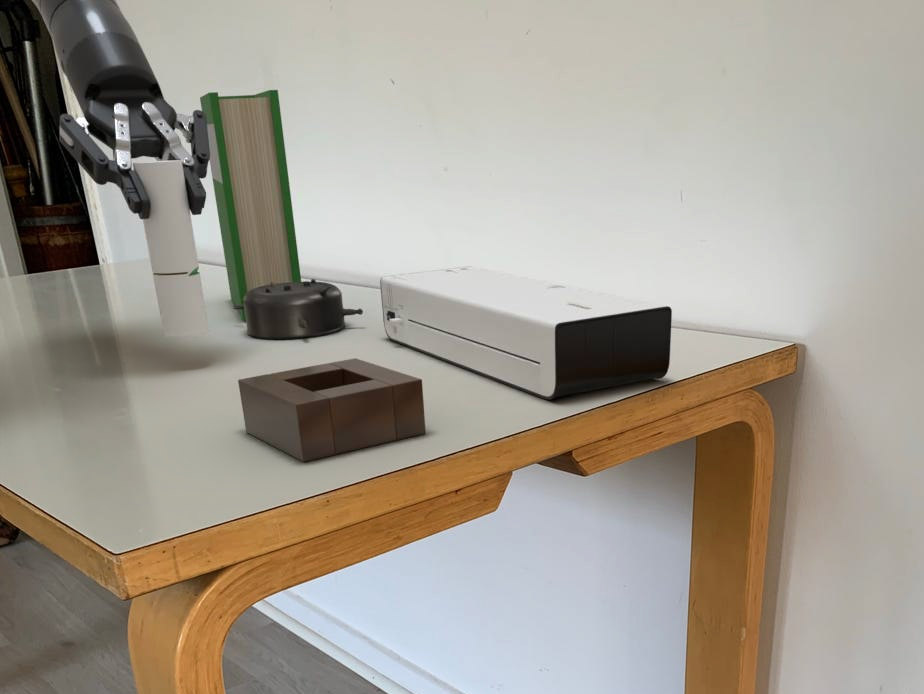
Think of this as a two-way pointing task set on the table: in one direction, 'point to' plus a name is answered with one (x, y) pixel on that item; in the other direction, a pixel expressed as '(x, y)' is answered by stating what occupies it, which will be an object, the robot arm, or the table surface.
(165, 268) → the tube
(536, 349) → the laminator
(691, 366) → the table surface
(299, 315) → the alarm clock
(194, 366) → the table surface
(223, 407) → the table surface
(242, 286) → the hardback book
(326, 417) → the socket block
